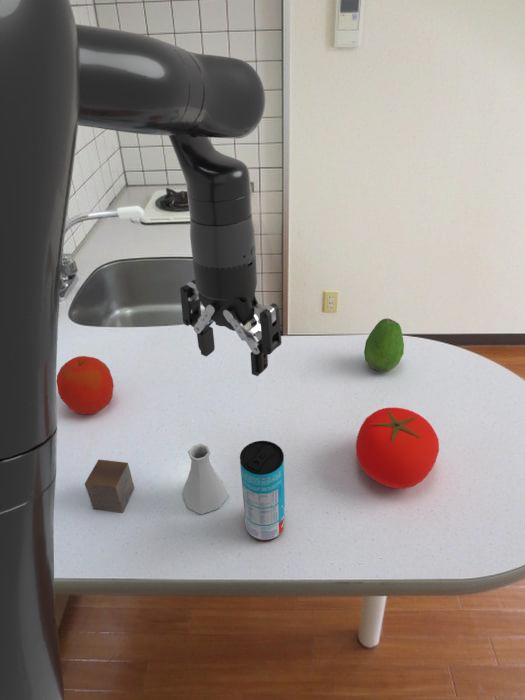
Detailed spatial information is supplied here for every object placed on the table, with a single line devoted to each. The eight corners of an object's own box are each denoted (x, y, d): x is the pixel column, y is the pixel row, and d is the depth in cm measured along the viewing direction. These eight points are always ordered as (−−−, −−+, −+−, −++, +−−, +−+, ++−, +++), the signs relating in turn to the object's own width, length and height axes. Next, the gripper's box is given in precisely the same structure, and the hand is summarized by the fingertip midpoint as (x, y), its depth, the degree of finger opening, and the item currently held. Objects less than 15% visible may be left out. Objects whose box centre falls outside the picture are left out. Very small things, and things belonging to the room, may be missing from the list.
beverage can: (293, 525, 79) (292, 454, 70) (266, 550, 76) (262, 480, 67) (264, 503, 82) (261, 434, 74) (237, 527, 79) (230, 457, 70)
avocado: (398, 382, 106) (406, 332, 99) (360, 375, 108) (364, 326, 102) (402, 359, 112) (409, 311, 106) (366, 354, 115) (370, 306, 108)
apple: (128, 400, 104) (117, 353, 98) (88, 430, 98) (74, 381, 91) (94, 384, 109) (81, 337, 103) (54, 411, 102) (37, 363, 96)
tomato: (368, 430, 95) (373, 385, 89) (441, 452, 90) (451, 406, 84) (340, 485, 85) (344, 438, 79) (420, 514, 80) (430, 466, 74)
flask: (211, 471, 88) (205, 427, 83) (237, 497, 84) (232, 453, 78) (174, 494, 85) (165, 450, 79) (199, 522, 80) (192, 477, 74)
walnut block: (122, 513, 82) (115, 487, 78) (93, 509, 83) (84, 483, 79) (134, 488, 86) (128, 462, 83) (106, 484, 87) (98, 459, 83)
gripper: (157, 250, 63) (175, 360, 72) (255, 277, 56) (260, 395, 65) (197, 230, 68) (209, 335, 77) (291, 252, 61) (292, 364, 70)
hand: (232, 362), depth 71 cm, fingers open, 8 cm apart
